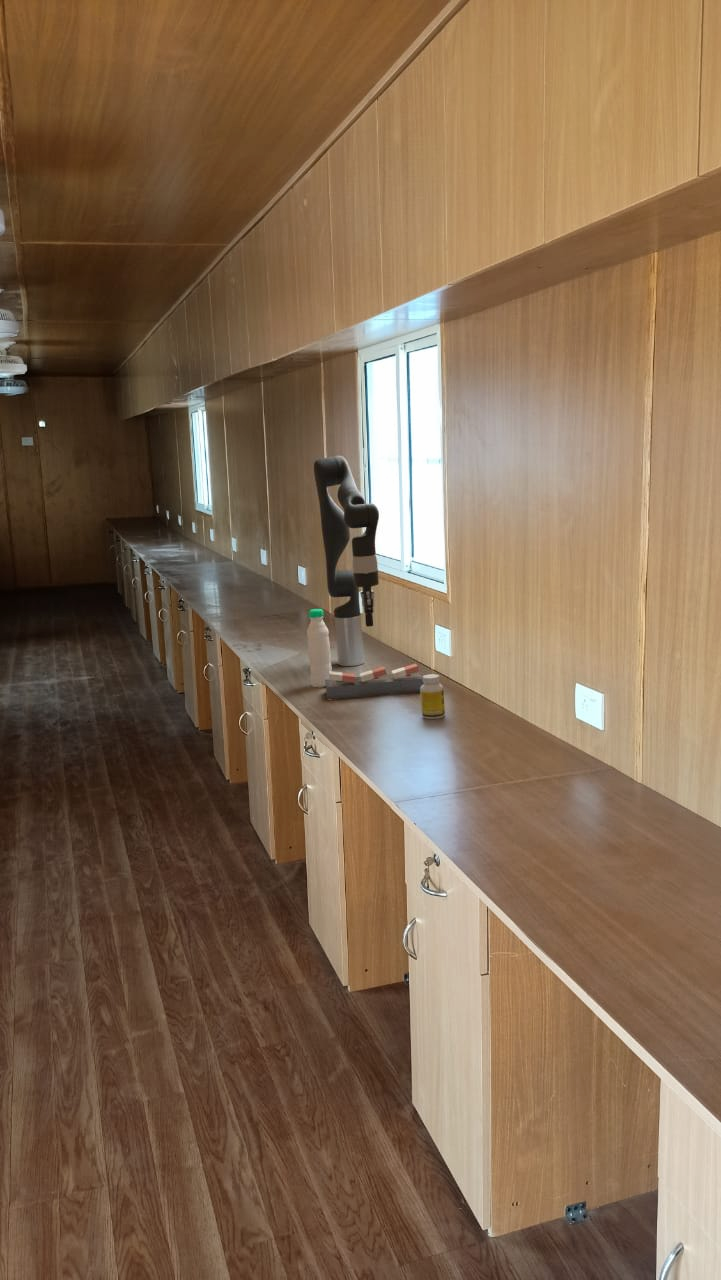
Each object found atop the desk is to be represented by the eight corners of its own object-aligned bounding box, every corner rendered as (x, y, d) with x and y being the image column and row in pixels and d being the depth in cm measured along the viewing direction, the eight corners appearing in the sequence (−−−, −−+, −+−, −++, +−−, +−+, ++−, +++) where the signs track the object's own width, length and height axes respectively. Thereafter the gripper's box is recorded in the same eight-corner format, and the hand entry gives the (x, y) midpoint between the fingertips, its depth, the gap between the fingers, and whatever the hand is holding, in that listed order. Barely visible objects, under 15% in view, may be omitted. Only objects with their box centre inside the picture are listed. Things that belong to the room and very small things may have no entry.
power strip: (326, 692, 312) (325, 679, 311) (420, 683, 313) (419, 670, 312) (327, 700, 302) (325, 686, 301) (424, 691, 303) (423, 678, 302)
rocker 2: (361, 679, 306) (359, 673, 306) (385, 671, 306) (384, 666, 306) (361, 682, 302) (360, 676, 302) (386, 674, 302) (385, 669, 302)
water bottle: (334, 682, 324) (328, 607, 319) (331, 687, 317) (325, 611, 312) (313, 683, 325) (306, 608, 320) (309, 688, 318) (303, 612, 313)
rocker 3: (392, 676, 307) (391, 670, 306) (417, 668, 307) (415, 663, 306) (394, 679, 303) (392, 673, 302) (419, 671, 303) (417, 666, 302)
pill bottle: (443, 719, 272) (441, 678, 269) (420, 720, 273) (417, 679, 271) (446, 713, 278) (444, 673, 275) (423, 713, 279) (421, 673, 277)
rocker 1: (328, 676, 305) (329, 671, 305) (354, 679, 306) (354, 674, 306) (328, 679, 301) (329, 673, 301) (354, 682, 302) (355, 677, 302)
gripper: (351, 568, 306) (356, 623, 309) (354, 573, 293) (358, 631, 296) (376, 566, 306) (380, 621, 310) (379, 571, 293) (383, 628, 297)
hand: (369, 625), depth 303 cm, fingers closed
